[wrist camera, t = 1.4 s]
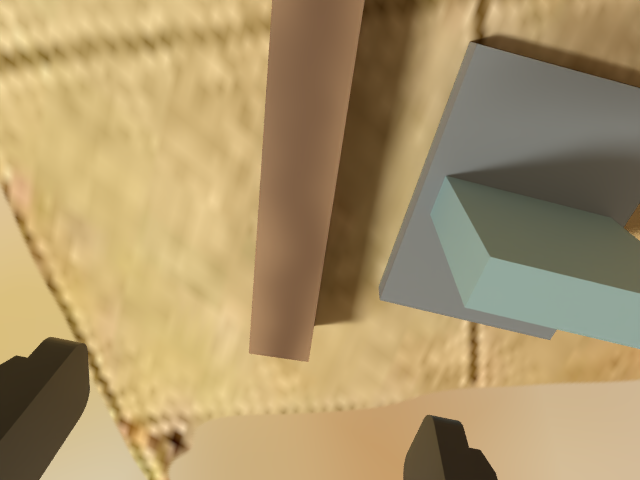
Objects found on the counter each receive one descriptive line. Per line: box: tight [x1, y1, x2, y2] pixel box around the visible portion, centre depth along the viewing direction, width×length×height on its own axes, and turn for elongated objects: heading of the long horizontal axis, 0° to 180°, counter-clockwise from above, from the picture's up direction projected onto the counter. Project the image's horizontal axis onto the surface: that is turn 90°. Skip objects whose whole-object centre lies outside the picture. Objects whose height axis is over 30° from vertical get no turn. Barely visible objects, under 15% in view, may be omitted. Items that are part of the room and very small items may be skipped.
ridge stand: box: [379, 42, 640, 349], centre depth 22 cm, size 12×16×10 cm
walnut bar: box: [249, 0, 365, 362], centre depth 25 cm, size 4×26×4 cm, turn 173°
